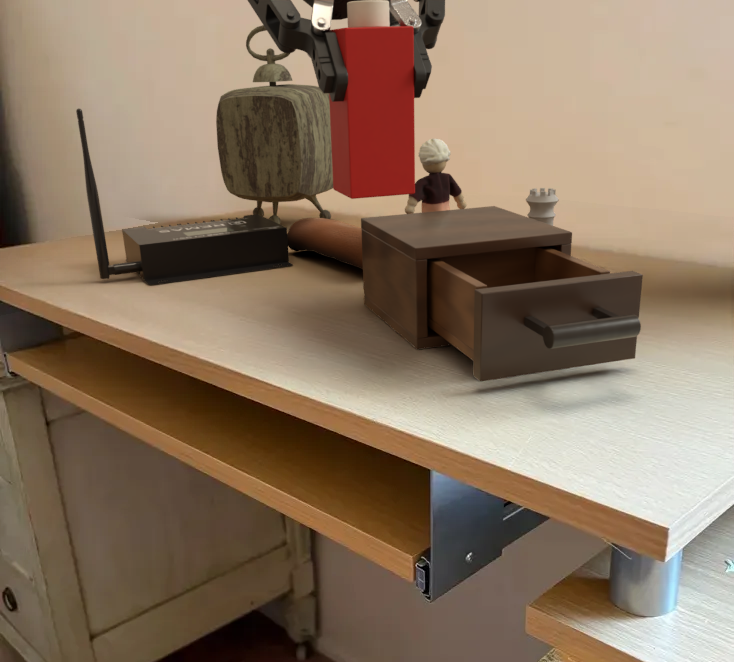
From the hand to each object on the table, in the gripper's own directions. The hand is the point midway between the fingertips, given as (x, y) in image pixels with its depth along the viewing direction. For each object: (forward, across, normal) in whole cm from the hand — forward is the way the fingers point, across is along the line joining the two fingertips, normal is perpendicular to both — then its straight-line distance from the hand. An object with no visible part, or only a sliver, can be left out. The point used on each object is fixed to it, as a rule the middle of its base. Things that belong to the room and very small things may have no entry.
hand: (380, 89), depth 51 cm
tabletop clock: (-29, +5, +57) cm, 64 cm away
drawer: (+14, +10, +11) cm, 21 cm away
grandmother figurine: (-9, +16, +36) cm, 40 cm away
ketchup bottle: (+3, 0, +6) cm, 7 cm away
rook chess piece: (-3, +24, +30) cm, 38 cm away
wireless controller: (-16, -10, +43) cm, 47 cm away
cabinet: (+6, +10, +21) cm, 24 cm away
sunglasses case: (-11, +8, +38) cm, 41 cm away
